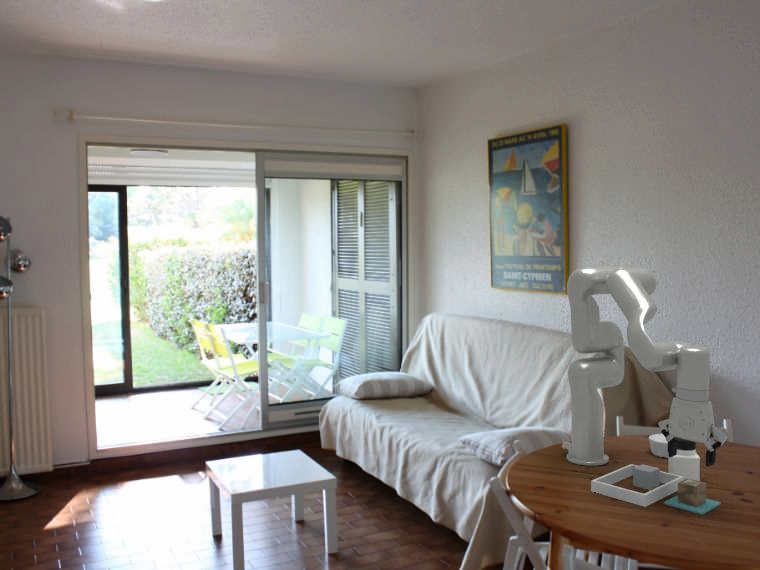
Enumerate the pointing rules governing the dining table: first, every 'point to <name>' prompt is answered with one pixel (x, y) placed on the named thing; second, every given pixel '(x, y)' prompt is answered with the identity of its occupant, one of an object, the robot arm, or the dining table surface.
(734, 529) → the dining table surface
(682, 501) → the walnut box
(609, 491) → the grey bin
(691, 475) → the medicine bottle
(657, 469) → the slate box
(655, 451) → the ramekin
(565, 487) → the dining table surface
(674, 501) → the teal mat
